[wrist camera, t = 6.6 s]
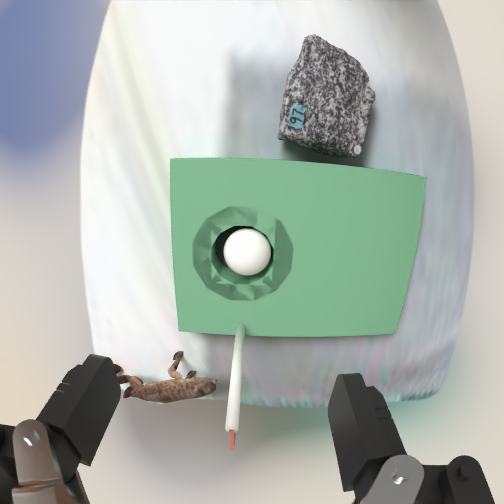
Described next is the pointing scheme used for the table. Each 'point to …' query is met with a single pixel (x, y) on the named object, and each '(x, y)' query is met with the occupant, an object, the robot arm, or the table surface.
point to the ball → (247, 251)
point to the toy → (168, 385)
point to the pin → (235, 385)
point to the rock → (326, 101)
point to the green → (294, 246)
